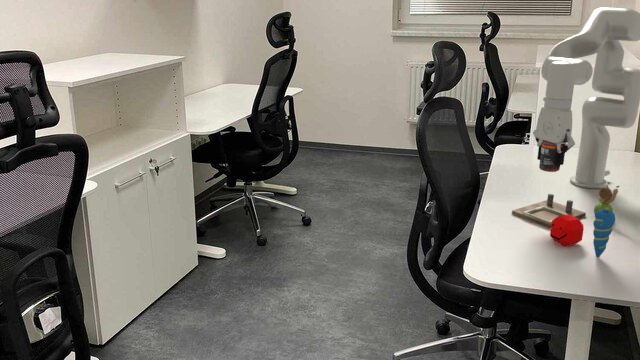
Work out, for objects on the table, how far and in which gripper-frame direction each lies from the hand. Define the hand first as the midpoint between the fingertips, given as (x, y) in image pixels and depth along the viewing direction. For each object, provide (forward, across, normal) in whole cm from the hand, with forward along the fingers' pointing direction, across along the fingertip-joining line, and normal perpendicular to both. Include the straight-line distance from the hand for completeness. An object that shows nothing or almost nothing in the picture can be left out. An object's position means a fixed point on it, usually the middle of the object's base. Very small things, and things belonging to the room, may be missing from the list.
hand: (550, 161), depth 188 cm
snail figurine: (+18, +10, +15) cm, 26 cm away
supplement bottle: (+3, 0, 0) cm, 3 cm away
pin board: (+18, 0, +2) cm, 18 cm away
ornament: (+18, +29, -9) cm, 35 cm away
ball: (+18, +18, -10) cm, 27 cm away
